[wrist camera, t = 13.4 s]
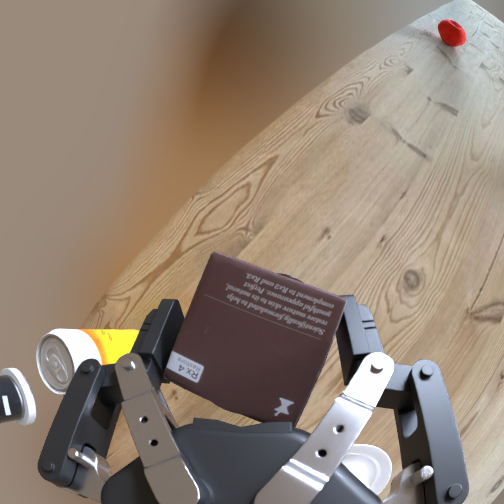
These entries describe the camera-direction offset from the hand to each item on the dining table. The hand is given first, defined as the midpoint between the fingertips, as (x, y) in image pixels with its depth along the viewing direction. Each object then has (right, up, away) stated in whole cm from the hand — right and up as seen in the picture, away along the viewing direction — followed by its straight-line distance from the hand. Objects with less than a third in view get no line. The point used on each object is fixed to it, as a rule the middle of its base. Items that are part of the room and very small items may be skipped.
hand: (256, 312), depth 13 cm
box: (+1, -3, +4) cm, 5 cm away
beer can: (-15, -10, +18) cm, 26 cm away
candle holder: (+12, -26, +11) cm, 30 cm away
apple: (+49, +56, +27) cm, 79 cm away
